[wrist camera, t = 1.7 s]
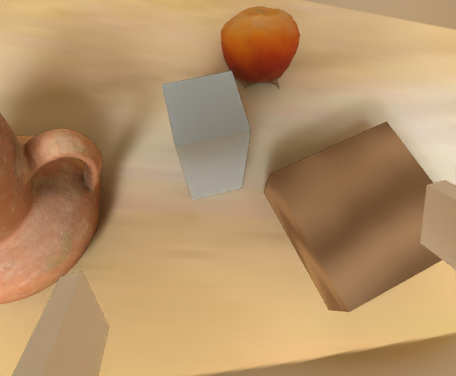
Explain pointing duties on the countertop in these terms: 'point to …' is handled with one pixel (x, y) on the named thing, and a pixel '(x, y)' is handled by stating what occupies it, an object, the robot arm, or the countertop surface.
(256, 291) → the countertop surface
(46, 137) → the ceramic jug
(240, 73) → the fruit
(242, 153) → the pillar
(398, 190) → the walnut slab
